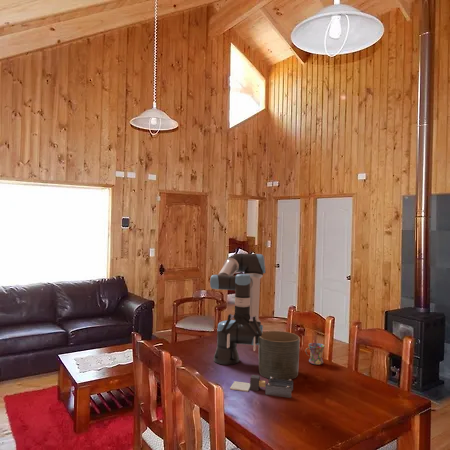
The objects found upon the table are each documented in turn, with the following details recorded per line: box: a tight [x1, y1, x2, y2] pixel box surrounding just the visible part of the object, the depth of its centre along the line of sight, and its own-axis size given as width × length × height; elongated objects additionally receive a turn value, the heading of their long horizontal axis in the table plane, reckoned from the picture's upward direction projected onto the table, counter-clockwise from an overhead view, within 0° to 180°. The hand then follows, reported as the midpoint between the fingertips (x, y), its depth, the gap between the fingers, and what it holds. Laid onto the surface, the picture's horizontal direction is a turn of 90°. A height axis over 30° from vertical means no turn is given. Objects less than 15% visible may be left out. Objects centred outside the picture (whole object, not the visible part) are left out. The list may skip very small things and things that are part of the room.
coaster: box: [229, 380, 250, 393], centre depth 195 cm, size 9×9×1 cm
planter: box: [258, 330, 301, 380], centre depth 215 cm, size 22×22×20 cm
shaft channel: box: [264, 377, 294, 399], centre depth 189 cm, size 12×10×5 cm
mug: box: [304, 342, 325, 366], centre depth 232 cm, size 12×9×11 cm
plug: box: [249, 374, 267, 392], centre depth 192 cm, size 7×4×6 cm, turn 75°
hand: (241, 348), depth 195 cm, fingers open, 13 cm apart
